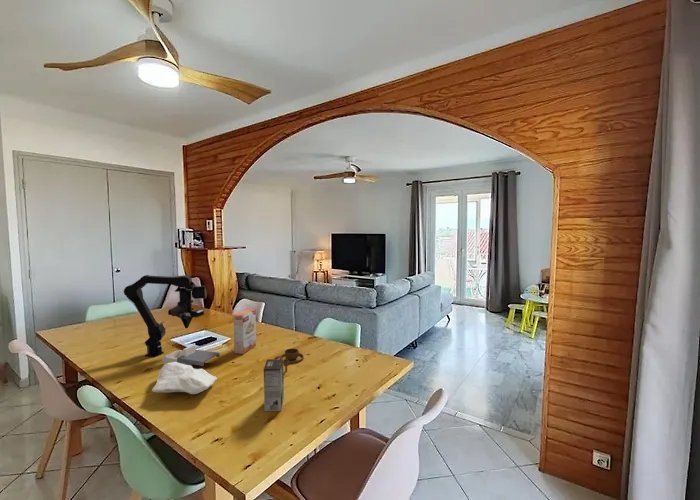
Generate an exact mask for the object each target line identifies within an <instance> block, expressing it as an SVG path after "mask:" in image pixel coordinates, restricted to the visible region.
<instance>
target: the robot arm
mask: <svg viewBox="0 0 700 500" xmlns="http://www.w3.org/2000/svg"><path fill="white" fill-rule="evenodd" d="M147 284H155V285H171V286H175V287H176V289H175V290H174V292H176V293H177V292H179V293H178V294H179V295H178V296H179V297H178V298H179V299H178V300H179V301H177V305H176V306H174V307H173V308H169V310H168V311H167V313H168V315H169V316H172V317H177V318H179V319H180V320H181V321H182V324H183V326H184V328H185V329H188V328H189V327H190V324H191V323H192V320H193V318H199V317H201V316H204V315H205V311H204V310H203V309H198V308H197V309H195V308H194V307H193V305H192V303H194V300H196V299H197V300H199V299H201V300H202V299H203V300H204V299H207V295H208V290H207V288H206V285H201V286H200V285H196V284H195V282H193V279H192V277H191V276H190V275H189V274H188V275H187V274H186V275H184V274H183V275H176V276H167V275H166V276H164V275H149V274H145V275H142V276H141V277H140V278H139V279H138V280H137V281H135V282H133V283H132V284H129V285H128V286H125V287H124V289H123V294H124V296H125V297H126V298H127V299H128V300H129V302H130V301H131V302H132V303H133V304H134V306H135V307H136V309H137V310H138V313H139V314H140V317H141V318H142V319H143V321H144V323H145V326H147V335H148V336H149V337H148V338H147V340H146V341H144V344H145V346H146V353H145V354H144V356H145V357H150V358H151V357H153V358H155V357H157V356H159V355H162V354H164V353H165V351H163V348H162V342H161V341H162V339H163V338H164V336H165V335H166V330H167V328H166V327H165V326H164V324H163V322H161V323H159V322H157V320H156V319H155V318H154V316H153V313H152V312H151V310H150V308H149V306H148V304H147V303H146V301H145V299H144V293H143V289H144V287H145V286H146V285H147ZM192 298H193V299H194V300H193V299H192Z"/></svg>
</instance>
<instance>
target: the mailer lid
mask: <svg viewBox="0 0 700 500" xmlns="http://www.w3.org/2000/svg"><path fill="white" fill-rule="evenodd" d="M183 354H184V355H182V356H180V357H178V358H177V362H180V363H187V364H193V365H195V366H201V367H203V366H204V363H205V362H208V361H209V360H212V359H214V358H215V357H217V358H220V355H221V354H220V352H219V351H217V352H215V351H208V350H201V349H196V345H195V344H192V345H189V346H187V347H185V348H183ZM193 365H192V366H193Z"/></svg>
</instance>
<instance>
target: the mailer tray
mask: <svg viewBox="0 0 700 500" xmlns="http://www.w3.org/2000/svg"><path fill="white" fill-rule="evenodd" d="M182 355H184V354H183V350H180V349H178V350H175V351H173V352H171V353H169V354H166V355H164V356H163V357H162V366H164V365H165V364H166V363H170V362H177V358H178V357H180V356H182ZM178 363H180V362H178ZM181 364H184V365H190V366H193V364H187V363H181Z"/></svg>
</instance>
